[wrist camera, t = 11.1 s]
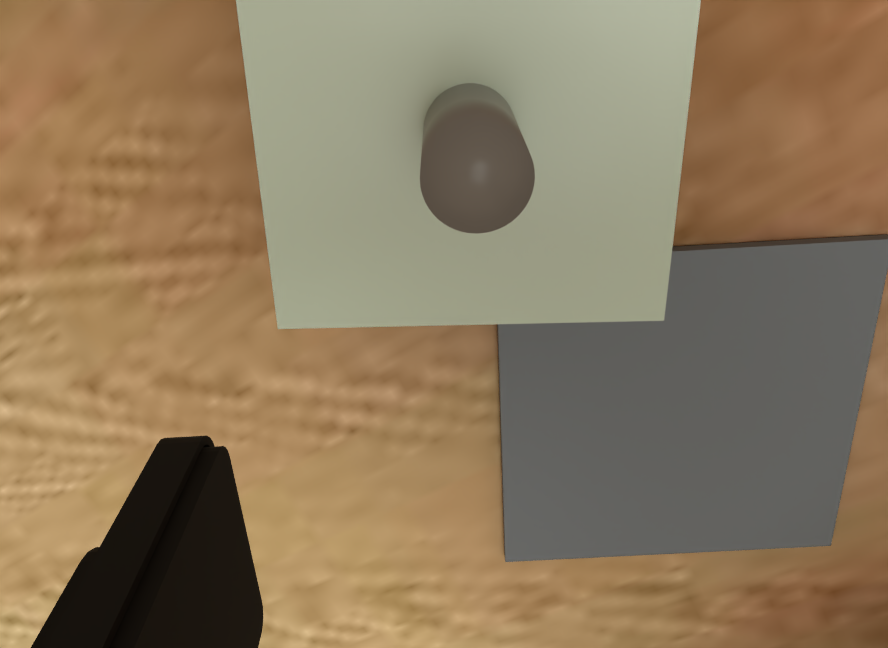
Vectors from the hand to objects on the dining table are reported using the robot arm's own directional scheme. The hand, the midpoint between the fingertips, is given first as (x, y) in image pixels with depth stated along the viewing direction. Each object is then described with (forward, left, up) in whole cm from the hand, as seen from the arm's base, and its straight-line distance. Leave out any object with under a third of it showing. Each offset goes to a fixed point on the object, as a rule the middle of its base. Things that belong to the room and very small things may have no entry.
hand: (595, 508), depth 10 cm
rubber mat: (-16, -9, -26) cm, 32 cm away
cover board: (+1, +1, -20) cm, 20 cm away
